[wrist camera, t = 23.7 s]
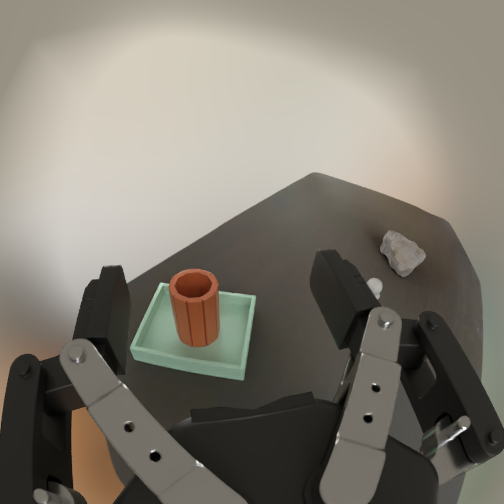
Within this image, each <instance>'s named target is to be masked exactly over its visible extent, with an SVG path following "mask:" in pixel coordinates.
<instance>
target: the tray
mask: <svg viewBox="0 0 504 504" xmlns="http://www.w3.org/2000/svg"><path fill="white" fill-rule="evenodd" d="M255 303H256V296H252V295H245V294H237V293H229V292H222V291H219V317H220V331H219V335H218V338H217V340H215V341H214V342H213V343H211V344H210V345H208V346H207V345H206V347H195V348H194V346H193V347H190V346H188V345H186V344H184V343H182V341H180V339H179V336H178V334H177V331H176V326H175V321H174V316H173V310H172V305H171V299H170V293H169V284H166V283H160V285H159V287H158V289H157V291H156V293H155V295H154V297H153V299H152V301H151V303H150V305H149V307H148V310H147V312H146V314H145V316H144V318H143V320H142V322H141V325H140V327H139V329H138V331H137V333H136V335H135V338H134V340H133V342H132V344H131V347H130V350H131V353H132V355H133V357H134V360H138V361H142V362H146V363H150V364H154V365H159V366H163V367H168V368H173V369H177V370H182V371H188V372H193V373H198V374H204V375H210V376H216V377H222V378H229V379H236V380H244V376H245V370H246V363H247V357H248V350H249V344H250V338H251V331H252V325H253V318H254V311H255Z"/></svg>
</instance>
